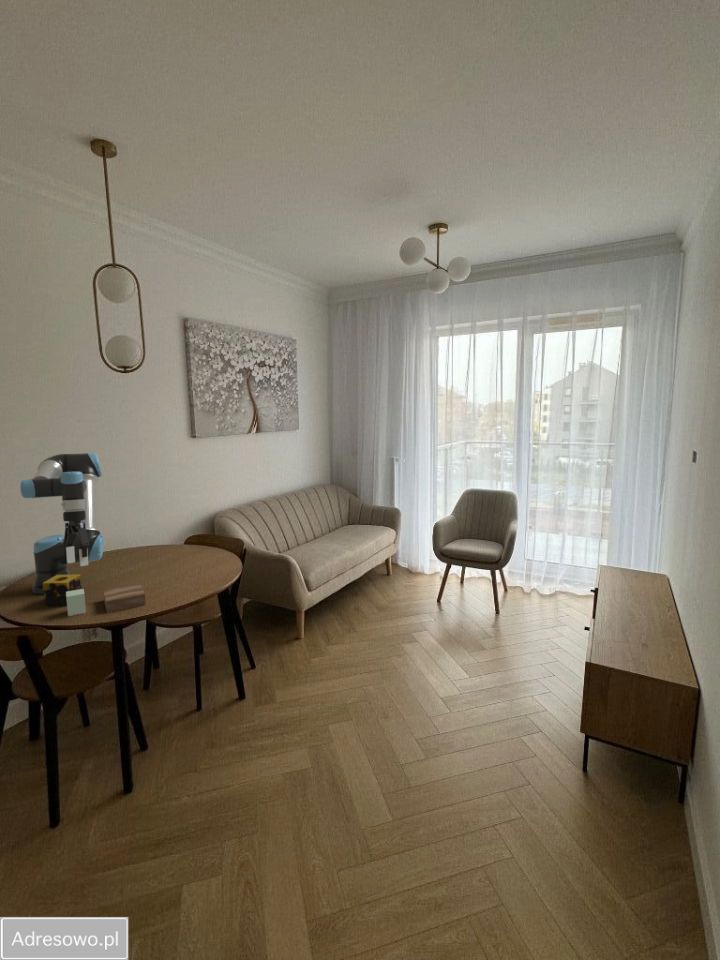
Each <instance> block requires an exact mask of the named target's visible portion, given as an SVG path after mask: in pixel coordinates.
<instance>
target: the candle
mask: <svg viewBox="0 0 720 960" xmlns="http://www.w3.org/2000/svg"><path fill="white" fill-rule="evenodd" d="M81 580H82V576H81V574H80V573H78V574H76V573H75V574H74V573H73V574H70V575H56V576H54V577H52V578H51V579H49V580H47V581H45V582H43V590H44V594H43V595H44V599H43V600H44V605H45V606H49V605H50V606H53V605H54V606H67V598H66V592H68V591H73V590H79V589H83V587H82V584H81Z"/></svg>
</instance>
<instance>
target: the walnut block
mask: <svg viewBox="0 0 720 960" xmlns="http://www.w3.org/2000/svg"><path fill="white" fill-rule="evenodd" d="M102 591H103V601H104V606H105V611H106V613H107V612H108V613H111V611H113V612H115V611H114V610H117V611H121V610H120V609H122V610H126V609H125V608H127V609H131V608H130V607H132V608H137V607H141V606H140V605H142V606H146V593H145V591H144V590H143V587H142V585H141V583H137V584H136V583H135V584H134V583H133V584H128V585H125V586H118V587H113V588H112V587H111V588H107V589H103V590H102ZM136 606H137V607H136Z"/></svg>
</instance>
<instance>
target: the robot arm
mask: <svg viewBox="0 0 720 960" xmlns="http://www.w3.org/2000/svg"><path fill="white" fill-rule="evenodd" d="M102 475H103V474H102V470H101V465H100V459H99V456H98V454H97V453H92V452H91V453H89V452H86V453H60V454H55V455H52V456H49V457H47V458H45V459H44V460H43V461H41V462H40V463H39V465H38V467H37V472H36V473H35V474H34V476H33V478H29V479H23V480H21V481H20V486H19V487H20V494H21V496H22V498H24V499H38V498H40V499H41V498H51V497H52V498H54V497H61V501H62V502H61V503H60V504H61V505H60V506H62V511H63V513H62V519H63V522H65V523H64V527H65V528H64V534H54V535H48V536H45V537H42V538H40V539H38V540H36V541H35V542H34V543H33V552H32V553H33V557H34V567H35V577H34V580H33V583H32V592H33V594H37V595H44V590H43V582H45V581H47V580H49V579H51V578H52V577H54V576H56V575H71V574H70V571H69V570H68V565H71V564H79V567H84V566H85V567H86V566H89V563H90V562H96V561H99V560H101V559H102V558H103V553H104V549H105V548H104V545H105V537H104V534H101V530H99V529H97V506H96V502H97V501H96V483H97V482H99V478H100V477H102Z"/></svg>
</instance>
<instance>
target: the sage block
mask: <svg viewBox="0 0 720 960" xmlns="http://www.w3.org/2000/svg"><path fill="white" fill-rule="evenodd" d="M85 596H86V595H85V590H84V588H82V589H79V590H73V591H68V592H66V598H67V605H66V606H67V607H66V609H67V616H68V617H72V616H77V614H78V615H83V614H86V613H87V607H86V597H85ZM82 613H83V614H82Z"/></svg>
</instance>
